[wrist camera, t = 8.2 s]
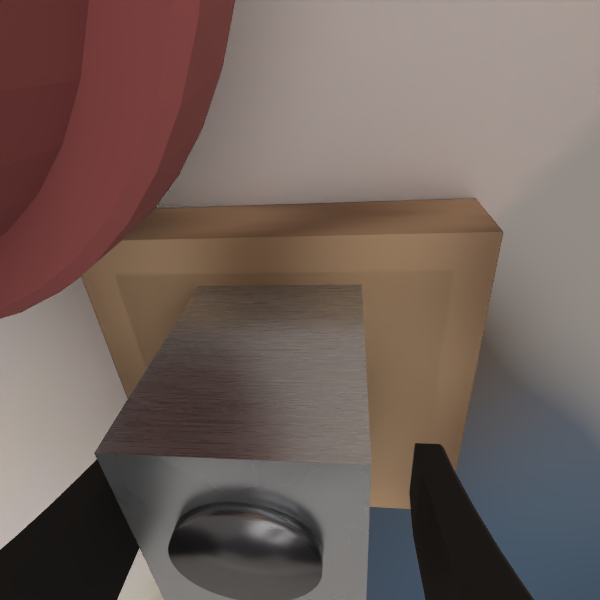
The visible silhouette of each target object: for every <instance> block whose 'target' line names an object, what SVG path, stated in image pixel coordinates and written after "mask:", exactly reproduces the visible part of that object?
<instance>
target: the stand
mask: <svg viewBox="0 0 600 600" xmlns="http://www.w3.org/2000/svg"><path fill="white" fill-rule="evenodd" d="M502 236H503V231H502V230H501V228H500V227H499V226H498V225H497V224H496V222H495V221H494V220H493V219H492V217H491V216H490V215H489V214H488V213H487V211H486V210H485V209H484V208H483V207H482V205H481V204H480V203H479V202H478V201H477V199H476V198H474V199H442V200H411V201H379V202H348V203H316V204H285V205H253V206H221V207H190V208H158V209H153V211H152V212H151V213H150V214H149V215H148V216H147V217H146V218H145V219H144V220H143V221H142V222H141V223H140V224H139V225H138V226H137V227H136V228H134V229H133V230H132V231H131V232H130V233H129V234H128V235H127V236H126V237H125V238H124V239H123V240H122V241H121V242H120V243H118V244H117V245H116V246H115V247H114V248H113V249H112V250H110V251H109V252H108V253H107V254H106V255H105V256H103V257H102V258H101V259H100V260H99V261H98V262H96V263H95V264H94V265H93V266H92V267H91V268H89V269H88V270H87V271H86V272H85V273H84V274H83V275H81V277H82V280H83V283H84V285H85V288H86V291H87V293H88V296H89V298H90V301H91V304H92V306H93V309H94V312H95V314H96V317H97V319H98V322H99V325H100V327H101V330H102V333H103V335H104V338H105V341H106V343H107V346H108V348H109V351H110V354H111V356H112V359H113V362H114V364H115V367H116V369H117V372H118V375H119V377H120V380H121V383H122V385H123V388H124V391H125V393H126V396H127V398H129V397H130V395H131V394H132V392H133V390H134V389H135V387H136V386H137V384H138V382H139V381H140V379H141V378H142V376H143V374H144V373H145V371H146V370H147V368H148V366H149V365H150V363H151V362H152V360H153V358H154V357H155V355H156V354H157V352H158V350H159V349H160V347H161V346H162V344H163V342H164V341H165V339H166V337H167V336H168V334H169V333H170V331H171V329H172V328H173V326H174V325H175V323H176V321H177V320H178V318H179V317H180V315H181V313H182V312H183V310H184V309H185V307H186V305H187V304H188V302H189V301H190V299H191V297H192V296H193V294H194V293H195V291H196V289H197V288H198V286H218V285H362V299H363V318H364V337H365V355H366V374H367V393H368V412H369V431H370V449H371V487H370V507H385V508H404V509H411V507H410V496H409V491H410V482H411V473H412V464H413V455H414V447H415V443H426V444H440V445H442V446H443V447H444V449H445V451H446V454H447V456H448V458H449V460H450V462H451V464H452V466H453V468H454V471H455V473H456V468H457V463H458V458H459V453H460V448H461V443H462V438H463V433H464V427H465V422H466V418H467V413H468V408H469V403H470V397H471V393H472V388H473V382H474V377H475V372H476V367H477V362H478V357H479V352H480V347H481V342H482V337H483V332H484V327H485V322H486V317H487V312H488V306H489V301H490V297H491V292H492V287H493V282H494V277H495V271H496V266H497V261H498V256H499V251H500V246H501V241H502Z"/></svg>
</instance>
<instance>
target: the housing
mask: <svg viewBox="0 0 600 600" xmlns="http://www.w3.org/2000/svg"><path fill="white" fill-rule="evenodd" d="M95 455H96V457H97V459H98V462H99V464H100V466H101V468H102V470H103V472H104V474H105V476H106V478H107V480H108V483H109V485H110V487H111V489H112V491H113V493H114V495H115V497H116V499H117V501H118V503H119V506H120V508H121V510H122V512H123V514H124V516H125V518H126V520H127V522H128V524H129V527H130V529H131V531H132V533H133V535H134V537H135V539H136V541H137V543H138V545H139V548H140V550H141V552H142V554H143V556H144V558H145V560H146V562H147V564H148V566H149V569H150V571H151V573H152V575H153V577H154V579H155V581H156V583H157V585H158V587H159V589H160V592H161V594H162V596H163V598H164V600H366V591H367V565H368V563H367V562H368V539H369V512H370V487H371V449H370V431H369V412H368V393H367V374H366V355H365V337H364V318H363V299H362V285H218V286H198V288H197V289H196V291H195V293H194V294H193V296H192V297H191V299H190V301H189V302H188V304H187V305H186V307H185V309H184V310H183V312H182V313H181V315H180V317H179V318H178V320H177V321H176V323H175V325H174V326H173V328H172V329H171V331H170V333H169V334H168V336H167V337H166V339H165V341H164V342H163V344H162V346H161V347H160V349H159V350H158V352H157V354H156V355H155V357H154V358H153V360H152V362H151V363H150V365H149V366H148V368H147V370H146V371H145V373H144V374H143V376H142V378H141V379H140V381H139V382H138V384H137V386H136V387H135V389H134V390H133V392H132V394H131V395H130V397H129V398H128V400H127V402H126V403H125V405H124V406H123V408H122V410H121V411H120V413H119V415H118V416H117V418H116V419H115V421H114V423H113V424H112V426H111V427H110V429H109V431H108V432H107V434H106V435H105V437H104V439H103V440H102V442H101V443H100V445H99V447H98V448H97V450H96V451H95Z"/></svg>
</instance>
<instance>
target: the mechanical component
mask: <svg viewBox="0 0 600 600" xmlns="http://www.w3.org/2000/svg"><path fill="white" fill-rule="evenodd" d="M234 3H235V0H0V319H1V318H4V317H7V316H10V315H14V314H17V313H20V312H22V311H24V310H26V309H28V308H30V307H32V306H34V305H36V304H38V303H40V302H41V301H43V300H45V299H47V298H49V297H51V296H53V295H55V294H57V293H59V292H60V291H62V290H63V289H64V288H66V287H67V286H69V285H70V284H71V283H73V282H74V281H76V280H77V279H78V278H79V277H80V276H81V275H83V274H84V273H85V272H86V271H87V270H88V269H89V268H91V267H92V266H93V265H94V264H95V263H96V262H98V261H99V260H100V259H101V258H102V257H103V256H105V255H106V254H107V253H108V252H109V251H110V250H112V249H113V248H114V247H115V246H116V245H117V244H118V243H120V242H121V241H122V240H123V239H124V238H125V237H126V236H127V235H128V234H129V233H130V232H131V231H132V230H133V229H134V228H136V227H137V226H138V225H139V224H140V223H141V222H142V221H143V220H144V219H145V218H146V217H147V216H148V215H149V214H150V213H151V212H152V211H153V209H154V208H155V207H156V205H157V204H158V202H159V201H160V200H161V198H162V197H163V196H164V194H165V193H166V192H167V190H168V189H169V188H170V186H171V185H172V183H173V182H174V181H175V179H176V178H177V177H178V175H179V173H180V171H181V169H182V167H183V165H184V163H185V161H186V159H187V157H188V155H189V153H190V151H191V149H192V148H193V146H194V144H195V142H196V140H197V138H198V136H199V134H200V132H201V130H202V128H203V125H204V122H205V119H206V116H207V113H208V110H209V107H210V104H211V101H212V98H213V95H214V91H215V88H216V85H217V82H218V79H219V76H220V73H221V70H222V67H223V62H224V57H225V51H226V46H227V41H228V35H229V30H230V24H231V19H232V14H233V8H234Z"/></svg>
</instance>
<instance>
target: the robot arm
mask: <svg viewBox="0 0 600 600" xmlns="http://www.w3.org/2000/svg"><path fill="white" fill-rule="evenodd" d="M409 496H410V507H411V517H412V528H413V536H414V542H415V547H416V553H417V558H418V563H419V568H420V574H421V578H422V583H423V589H424V593H425V599H426V600H534V599H533V598H532V596H531V595H530V593H529V592H528V590H527V589H526V587H525V586H524V585H523V583H522V582H521V580H520V579H519V577H518V576H517V575H516V573H515V571H514V570H513V568H512V567H511V565H510V564H509V562H508V561H507V559H506V558H505V556H504V555H503V553H502V552H501V550H500V549H499V547H498V546H497V544H496V542H495V541H494V539H493V538H492V536H491V534H490V533H489V531H488V529H487V528H486V526H485V524H484V523H483V521H482V519H481V518H480V516H479V514H478V513H477V511H476V509H475V508H474V506H473V504H472V502H471V501H470V499H469V497H468V495H467V493H466V491H465V490H464V488H463V486H462V484H461V482H460V480H459V478H458V476H457V475H456V473H455V471H454V468H453V466H452V464H451V462H450V460H449V458H448V456H447V454H446V451H445V449H444V447H443V446H442V445H440V444H426V443H415V447H414V455H413V464H412V473H411V482H410V491H409ZM138 550H139V545H138V543H137V541H136V539H135V537H134V535H133V533H132V531H131V529H130V527H129V524H128V522H127V520H126V518H125V516H124V514H123V512H122V510H121V508H120V506H119V503H118V501H117V499H116V497H115V495H114V493H113V491H112V489H111V487H110V485H109V483H108V480H107V478H106V476H105V474H104V472H103V470H102V468H101V466H100V464H99V462H98V459H97V460H96V461H95V462H94V463H93V464H92V465H91V466H90V467H89V468H88V469H87V470H86V471H85V472H84V473H83V474H82V475H81V476H80V477H79V478H78V479H77V480H76V481H75V482H74V483H73V484H72V485H71V486H69V487H68V488H67V489H66V490H65V491H64V492H63V493H62V494H61V495H60V496H59V497H58V498H57V499H56V500H55V501H54V502H53V503H52V504H51V505H50V506H49V507H48V508H47V509H46V510H44V511H43V512H42V513H41V514H40V515H39V516H38V517H37V518H36V519H35V520H33V521H32V522H31V523H30V524H29V525H28V526H27V527H26V528H25V529H23V530H22V531H21V532H20V533H19V534H18V535H17V536H16V537H15V538H14V539H12V540H11V541H10V542H9V543H8V544H7V545H5V546H4V547H3V548H2V549H1V550H0V600H117V598H118V596H119V594H120V591H121V589H122V587H123V584H124V582H125V580H126V577H127V575H128V573H129V570H130V568H131V566H132V564H133V561H134V559H135V557H136V554H137V552H138Z"/></svg>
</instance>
